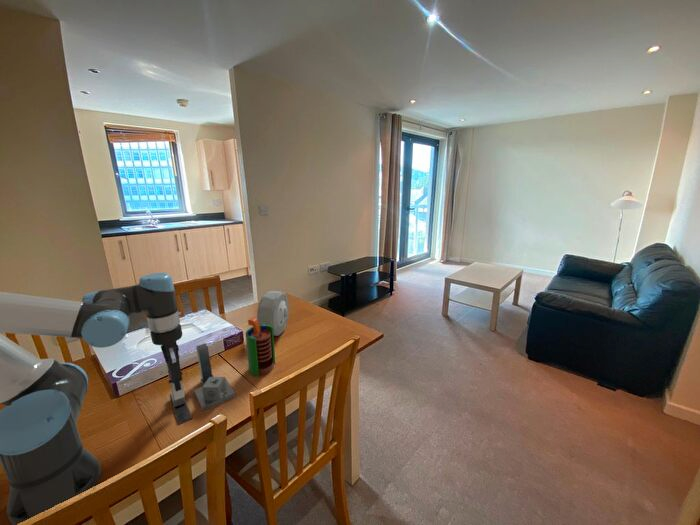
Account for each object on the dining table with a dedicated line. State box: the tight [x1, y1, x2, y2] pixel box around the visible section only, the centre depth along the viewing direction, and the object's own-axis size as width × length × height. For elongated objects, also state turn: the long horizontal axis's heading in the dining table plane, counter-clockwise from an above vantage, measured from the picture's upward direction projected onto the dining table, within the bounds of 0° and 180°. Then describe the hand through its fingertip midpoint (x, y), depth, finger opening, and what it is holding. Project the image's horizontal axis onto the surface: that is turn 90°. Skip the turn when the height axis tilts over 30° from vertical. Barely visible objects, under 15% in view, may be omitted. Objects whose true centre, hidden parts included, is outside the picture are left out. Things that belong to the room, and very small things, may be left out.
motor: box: [245, 317, 276, 378], centre depth 109 cm, size 10×9×20 cm
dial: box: [256, 290, 290, 337], centre depth 135 cm, size 20×12×20 cm, turn 171°
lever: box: [167, 373, 186, 407], centre depth 92 cm, size 3×4×11 cm
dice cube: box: [201, 376, 226, 401], centre depth 95 cm, size 5×5×5 cm
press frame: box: [169, 342, 236, 425], centre depth 95 cm, size 17×16×14 cm
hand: (179, 397), depth 90 cm, fingers closed
